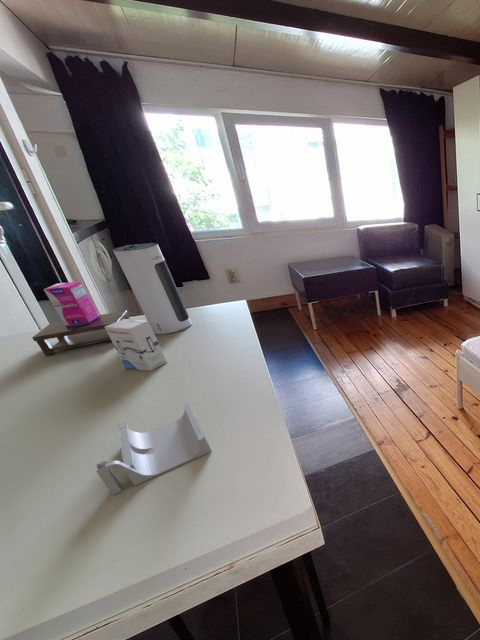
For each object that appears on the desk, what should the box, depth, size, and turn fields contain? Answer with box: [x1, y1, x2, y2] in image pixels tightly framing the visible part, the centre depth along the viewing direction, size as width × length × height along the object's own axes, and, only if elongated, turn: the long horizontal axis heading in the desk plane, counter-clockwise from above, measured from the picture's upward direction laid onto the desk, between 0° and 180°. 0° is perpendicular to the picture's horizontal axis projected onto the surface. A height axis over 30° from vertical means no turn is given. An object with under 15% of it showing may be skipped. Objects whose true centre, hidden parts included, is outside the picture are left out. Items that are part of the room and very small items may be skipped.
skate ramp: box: [95, 401, 212, 496], centre depth 63 cm, size 15×13×5 cm
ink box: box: [105, 318, 168, 372], centre depth 91 cm, size 9×5×12 cm, turn 76°
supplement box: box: [43, 281, 100, 327], centre depth 104 cm, size 6×6×12 cm
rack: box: [31, 310, 131, 357], centre depth 108 cm, size 18×12×6 cm, turn 119°
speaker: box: [112, 242, 193, 335], centre depth 110 cm, size 11×10×26 cm
